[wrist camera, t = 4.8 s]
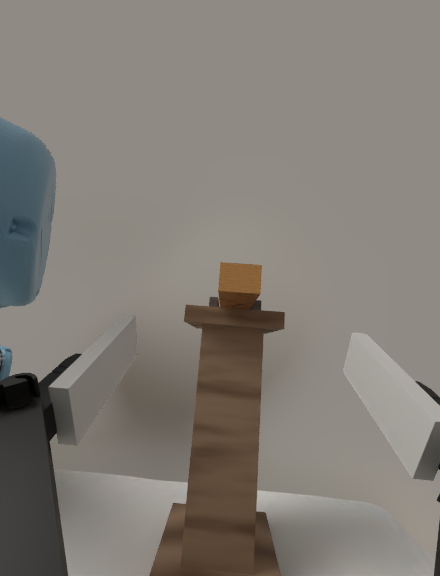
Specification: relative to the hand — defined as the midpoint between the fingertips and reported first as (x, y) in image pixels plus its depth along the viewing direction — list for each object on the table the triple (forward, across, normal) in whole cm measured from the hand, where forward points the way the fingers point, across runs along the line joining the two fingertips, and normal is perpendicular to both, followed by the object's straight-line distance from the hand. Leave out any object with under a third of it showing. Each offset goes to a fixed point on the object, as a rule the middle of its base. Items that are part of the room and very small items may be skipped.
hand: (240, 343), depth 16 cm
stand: (+6, 0, -33) cm, 34 cm away
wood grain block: (+17, 0, -5) cm, 17 cm away
